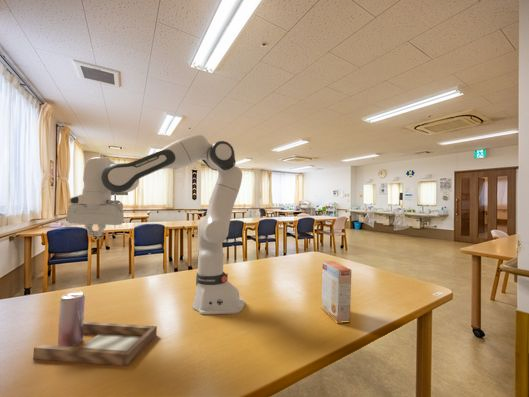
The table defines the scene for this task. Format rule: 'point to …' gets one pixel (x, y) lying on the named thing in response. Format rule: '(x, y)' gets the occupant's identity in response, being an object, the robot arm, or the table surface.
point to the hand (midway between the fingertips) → (95, 236)
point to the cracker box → (336, 290)
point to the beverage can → (71, 319)
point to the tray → (103, 344)
